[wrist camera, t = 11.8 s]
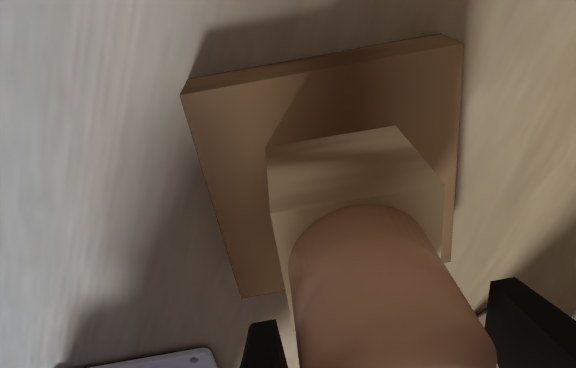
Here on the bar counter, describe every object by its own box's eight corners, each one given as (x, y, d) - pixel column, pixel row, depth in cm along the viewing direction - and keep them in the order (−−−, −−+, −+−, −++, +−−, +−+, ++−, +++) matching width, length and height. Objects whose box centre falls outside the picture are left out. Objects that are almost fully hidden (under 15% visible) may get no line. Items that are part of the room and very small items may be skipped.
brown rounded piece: (298, 322, 14) (314, 449, 10) (277, 217, 11) (289, 333, 8) (426, 301, 14) (486, 420, 10) (430, 192, 11) (509, 296, 8)
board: (242, 269, 21) (241, 298, 19) (187, 79, 16) (179, 95, 14) (433, 235, 21) (450, 261, 19) (440, 33, 16) (464, 43, 14)
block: (284, 248, 18) (293, 331, 14) (264, 146, 15) (270, 213, 11) (396, 230, 18) (437, 308, 14) (395, 125, 15) (445, 185, 11)
